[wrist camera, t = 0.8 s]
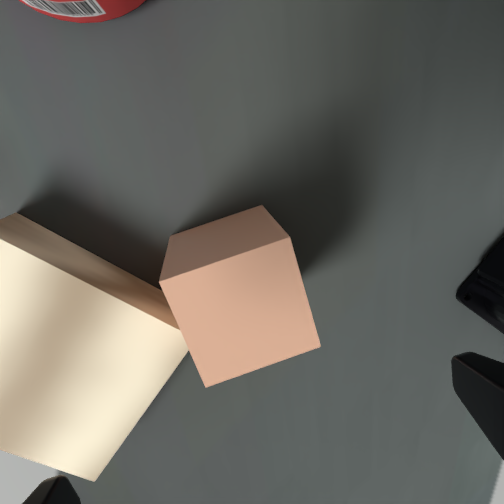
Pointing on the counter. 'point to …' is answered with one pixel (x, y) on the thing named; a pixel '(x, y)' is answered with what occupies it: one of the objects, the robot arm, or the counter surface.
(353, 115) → the counter surface
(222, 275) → the block
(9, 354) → the base
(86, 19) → the canned food
